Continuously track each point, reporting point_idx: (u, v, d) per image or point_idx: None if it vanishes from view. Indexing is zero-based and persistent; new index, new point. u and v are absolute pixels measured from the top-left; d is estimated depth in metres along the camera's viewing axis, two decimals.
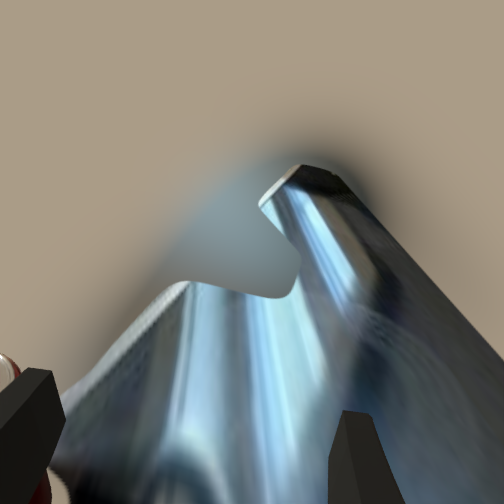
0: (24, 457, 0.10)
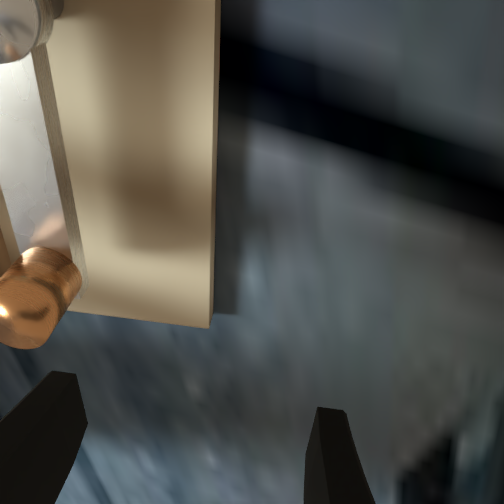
0: (50, 461, 0.10)
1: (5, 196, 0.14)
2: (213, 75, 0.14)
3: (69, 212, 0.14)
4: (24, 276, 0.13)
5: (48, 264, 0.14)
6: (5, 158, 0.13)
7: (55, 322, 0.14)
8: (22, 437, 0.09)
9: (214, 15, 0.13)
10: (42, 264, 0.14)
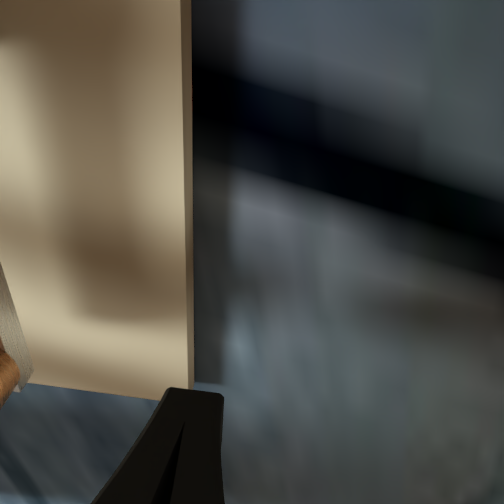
0: None
1: None
2: (182, 117, 0.10)
3: None
4: None
5: None
6: None
7: None
8: (166, 458, 0.09)
9: (180, 41, 0.10)
10: None
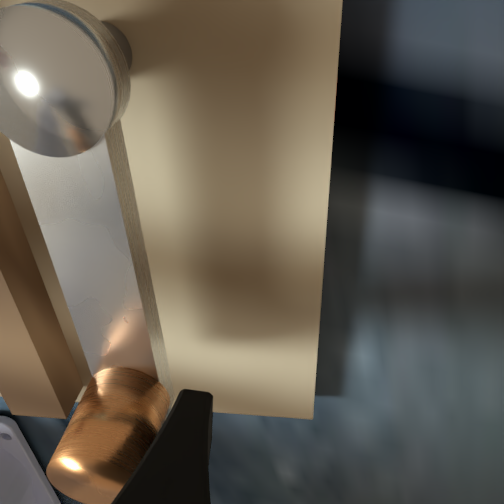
0: None
1: (72, 313, 0.10)
2: (332, 129, 0.10)
3: (153, 323, 0.11)
4: (105, 419, 0.10)
5: (131, 393, 0.11)
6: (71, 270, 0.10)
7: None
8: (183, 460, 0.09)
9: (338, 51, 0.09)
10: (124, 395, 0.11)
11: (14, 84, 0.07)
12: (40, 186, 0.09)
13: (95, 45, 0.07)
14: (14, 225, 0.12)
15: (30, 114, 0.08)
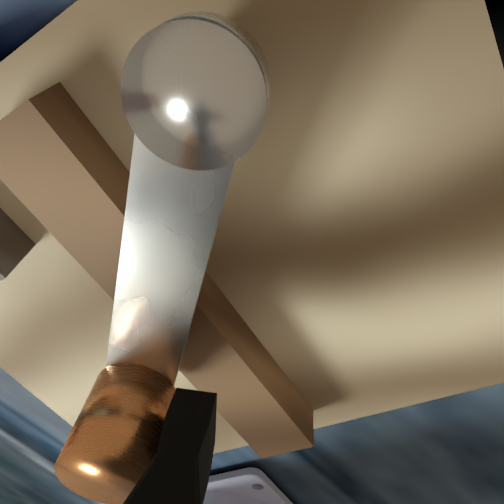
0: (201, 483, 0.10)
1: (115, 306, 0.10)
2: (485, 9, 0.09)
3: (188, 331, 0.11)
4: (127, 418, 0.10)
5: (151, 395, 0.11)
6: (136, 268, 0.10)
7: None
8: (192, 462, 0.09)
9: None
10: (145, 395, 0.11)
11: (169, 90, 0.07)
12: (144, 186, 0.08)
13: (265, 81, 0.07)
14: None
15: (171, 121, 0.08)
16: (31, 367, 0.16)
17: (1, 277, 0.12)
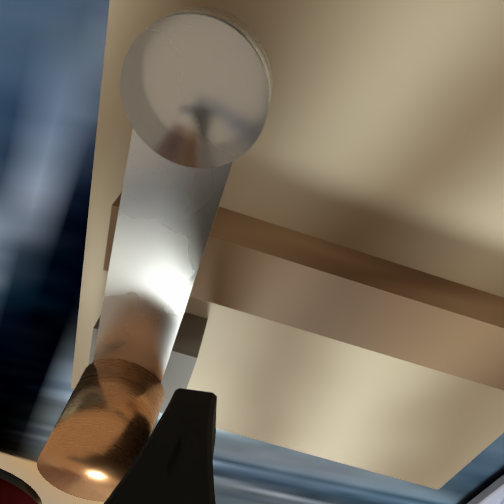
0: None
1: (105, 301, 0.10)
2: None
3: (178, 329, 0.11)
4: (113, 414, 0.10)
5: (138, 391, 0.11)
6: (128, 264, 0.09)
7: None
8: (176, 459, 0.09)
9: None
10: (132, 392, 0.11)
11: (170, 85, 0.07)
12: (140, 181, 0.08)
13: (268, 80, 0.07)
14: (346, 253, 0.12)
15: (171, 117, 0.07)
16: (279, 427, 0.17)
17: (194, 359, 0.13)
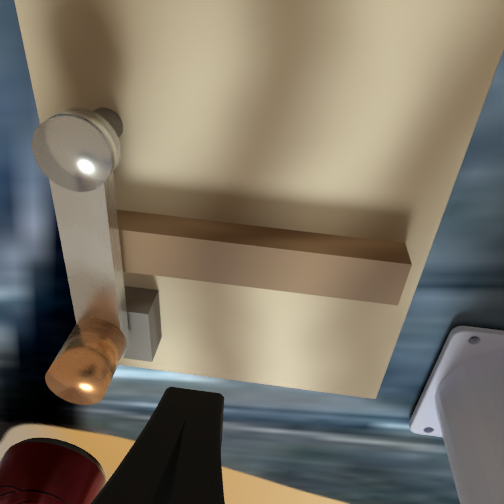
0: None
1: (69, 281, 0.17)
2: None
3: (120, 292, 0.17)
4: (85, 347, 0.17)
5: (102, 334, 0.17)
6: (73, 254, 0.16)
7: (108, 384, 0.17)
8: (166, 458, 0.09)
9: None
10: (97, 335, 0.17)
11: (57, 152, 0.14)
12: (62, 205, 0.15)
13: (104, 139, 0.13)
14: (222, 225, 0.18)
15: (64, 168, 0.14)
16: (238, 365, 0.23)
17: (146, 315, 0.19)
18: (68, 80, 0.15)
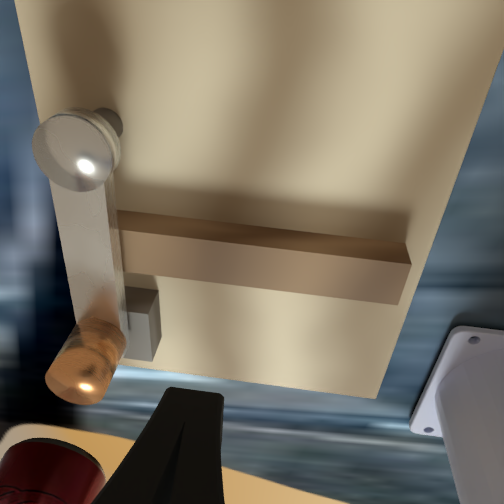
0: None
1: (69, 281, 0.17)
2: None
3: (120, 292, 0.17)
4: (85, 347, 0.17)
5: (102, 334, 0.17)
6: (73, 254, 0.16)
7: (108, 384, 0.17)
8: (166, 458, 0.09)
9: None
10: (97, 335, 0.17)
11: (57, 152, 0.14)
12: (62, 205, 0.15)
13: (104, 139, 0.13)
14: (222, 225, 0.18)
15: (64, 168, 0.14)
16: (238, 365, 0.23)
17: (146, 315, 0.19)
18: (68, 80, 0.15)
